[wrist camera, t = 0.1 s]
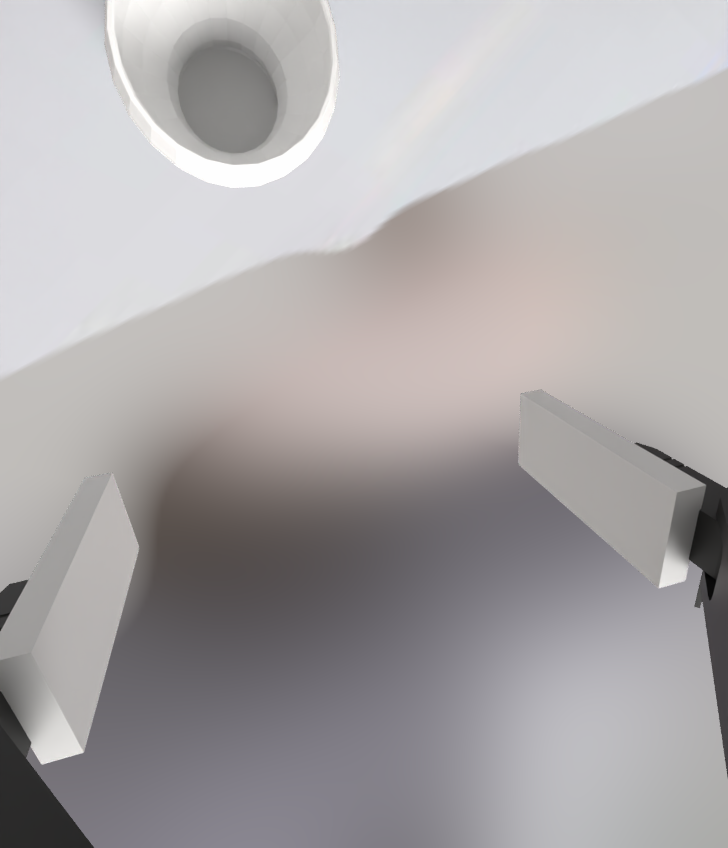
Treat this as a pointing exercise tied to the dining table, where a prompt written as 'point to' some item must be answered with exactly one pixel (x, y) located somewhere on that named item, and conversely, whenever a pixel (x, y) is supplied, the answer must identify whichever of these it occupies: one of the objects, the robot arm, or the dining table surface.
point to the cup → (226, 81)
